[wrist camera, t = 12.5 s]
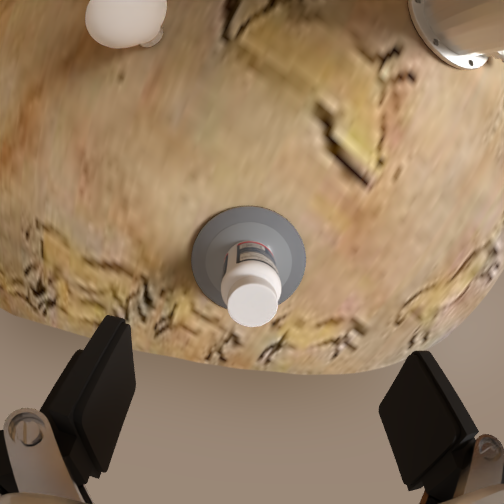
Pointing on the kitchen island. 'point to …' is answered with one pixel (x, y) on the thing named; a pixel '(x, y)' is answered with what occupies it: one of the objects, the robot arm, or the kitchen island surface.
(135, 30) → the light bulb
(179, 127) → the kitchen island surface
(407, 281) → the kitchen island surface
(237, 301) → the pill bottle
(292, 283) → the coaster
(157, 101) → the kitchen island surface
